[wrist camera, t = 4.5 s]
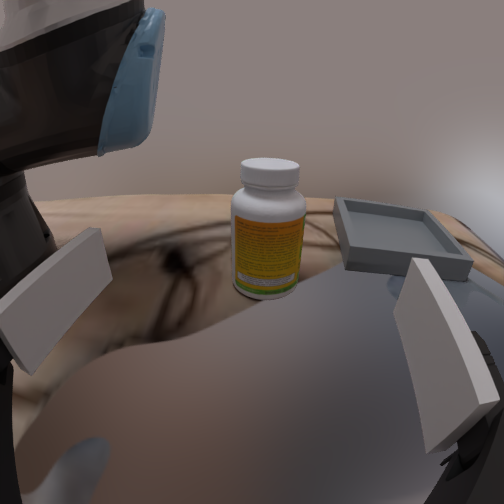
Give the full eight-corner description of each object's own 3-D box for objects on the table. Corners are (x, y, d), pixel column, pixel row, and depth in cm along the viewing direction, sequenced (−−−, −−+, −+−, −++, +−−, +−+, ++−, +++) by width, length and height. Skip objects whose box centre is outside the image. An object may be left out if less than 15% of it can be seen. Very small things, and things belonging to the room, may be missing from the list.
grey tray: (345, 270, 25) (350, 246, 24) (332, 213, 37) (335, 196, 36) (465, 281, 23) (473, 260, 22) (423, 226, 35) (427, 210, 34)
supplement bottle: (309, 294, 22) (325, 170, 17) (243, 308, 20) (243, 173, 16) (282, 260, 26) (289, 155, 22) (225, 269, 25) (222, 157, 20)
